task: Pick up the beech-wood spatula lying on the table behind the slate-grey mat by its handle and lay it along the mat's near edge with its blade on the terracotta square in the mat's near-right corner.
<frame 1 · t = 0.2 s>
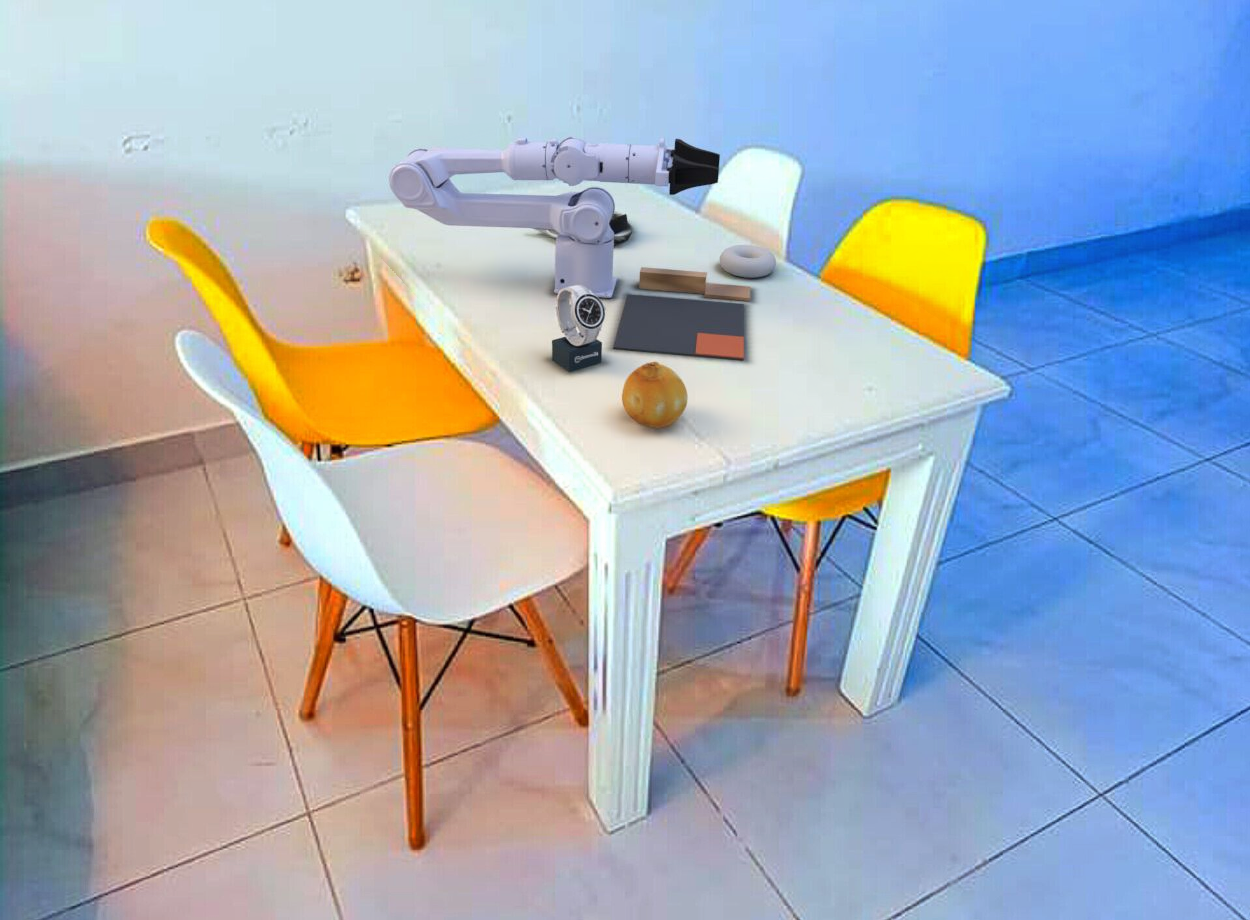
hand: (719, 168, 140), 21 cm above the table, tool horizontal, fingers open, 7 cm apart
donut: (746, 271, 162), on the table
corner mat: (681, 326, 141), on the table
fruit: (653, 420, 117), on the table
spatula: (692, 290, 153), on the table
salad plate: (589, 233, 175), on the table
watch: (577, 362, 130), on the table
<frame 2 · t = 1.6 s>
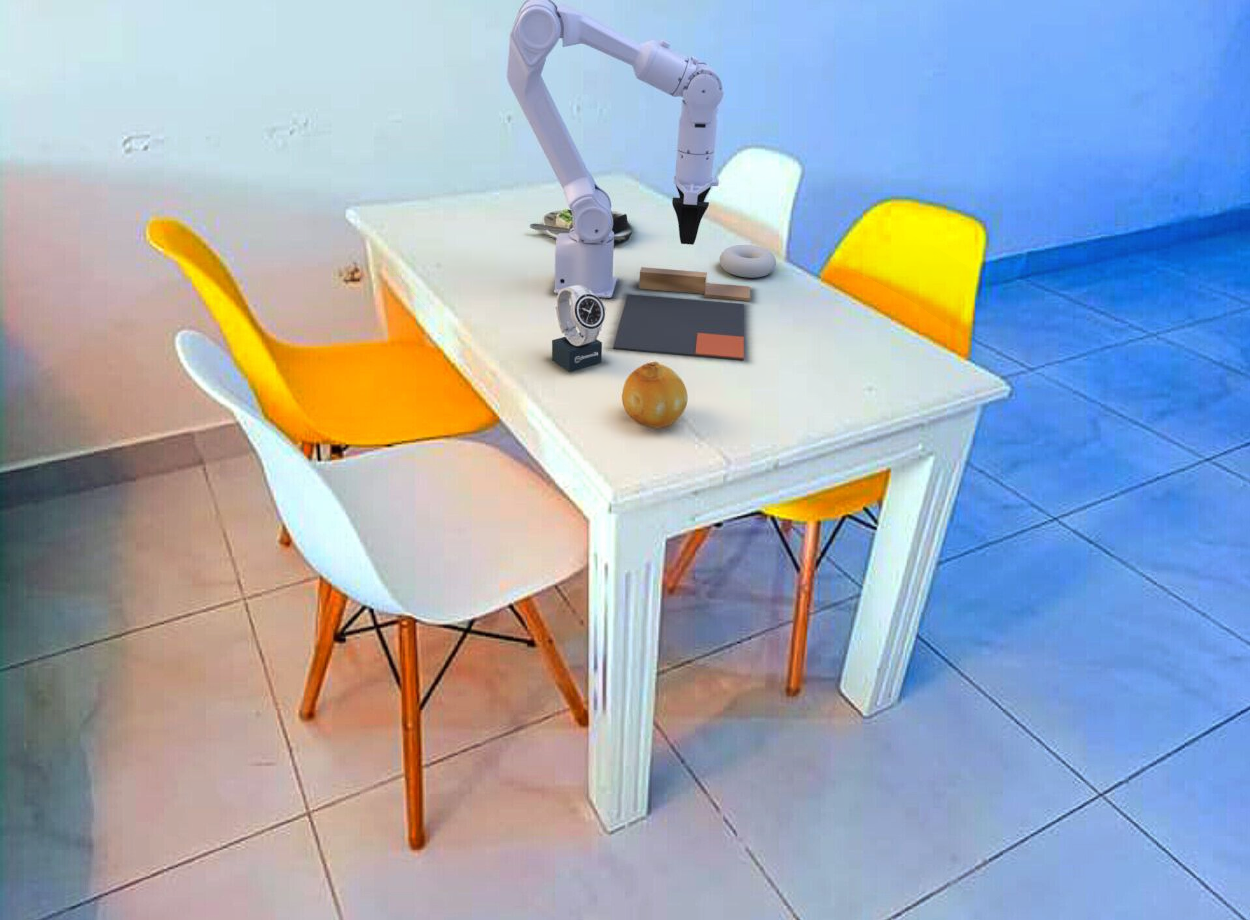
hand: (688, 235, 148), 9 cm above the table, tool pointing down, fingers open, 7 cm apart
nothing on the table moved.
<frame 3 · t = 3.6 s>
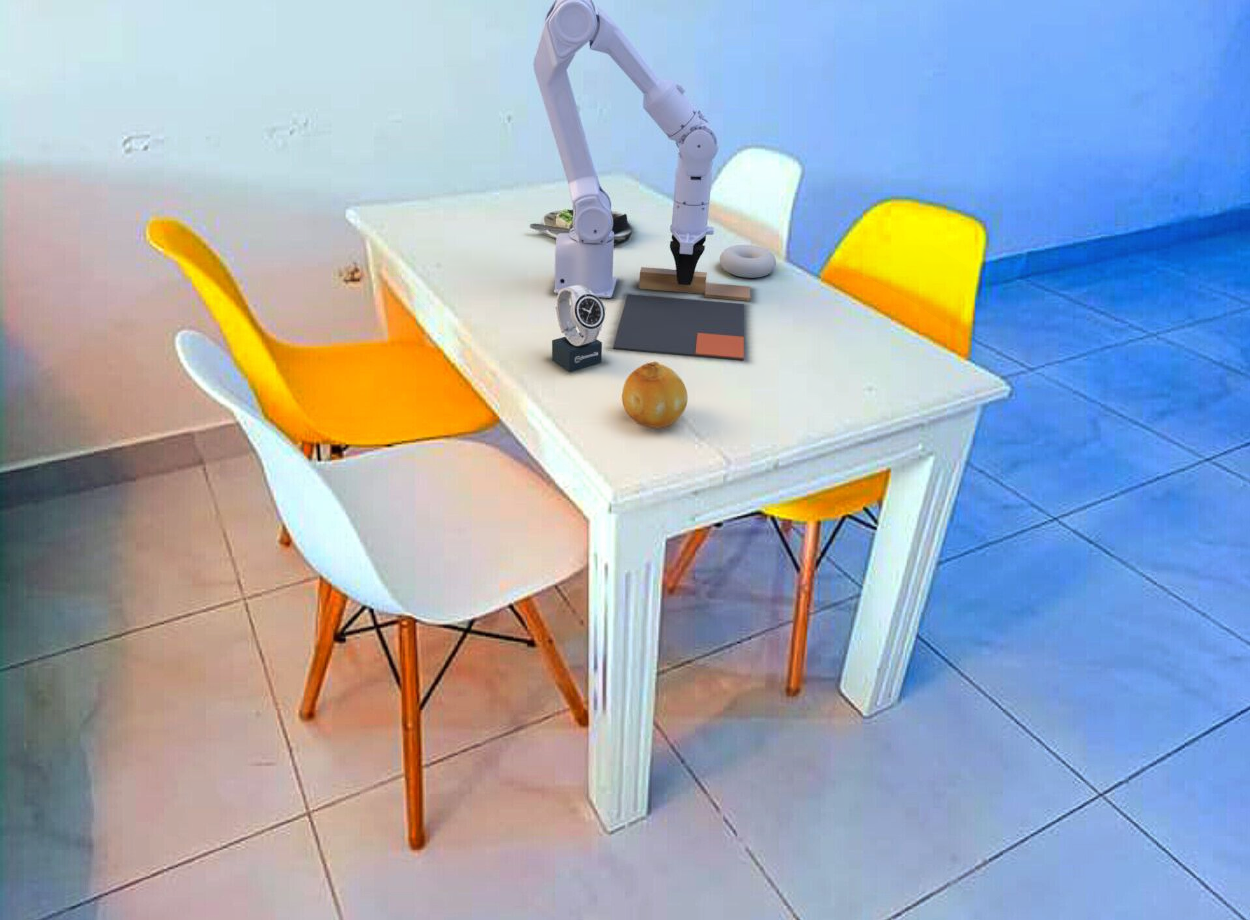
hand: (684, 280, 152), 2 cm above the table, tool pointing down, fingers closed on spatula, 2 cm apart
spatula: (692, 290, 153), on the table, touching gripper
everything else where it was.
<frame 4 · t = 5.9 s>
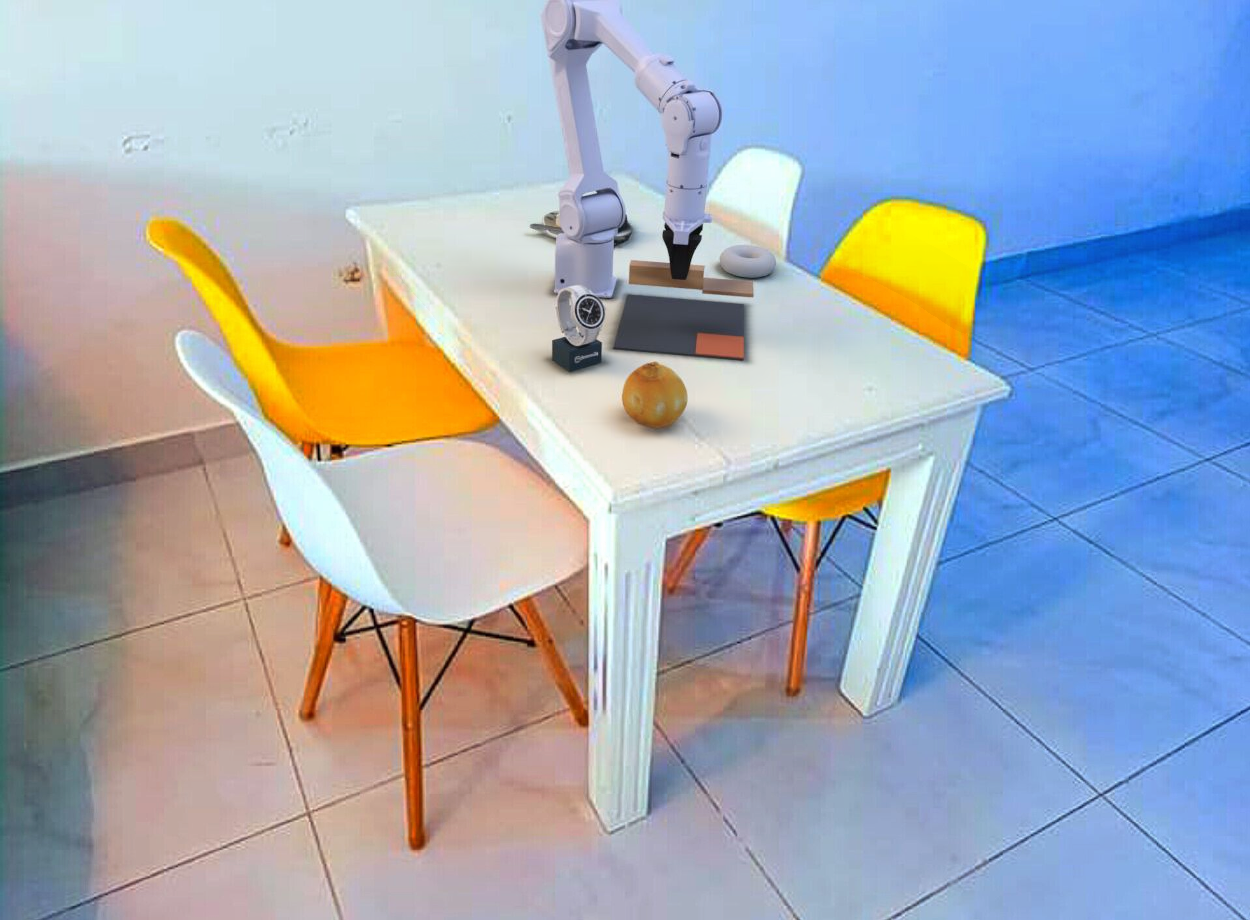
hand: (679, 275, 136), 9 cm above the table, tool pointing down, fingers closed on spatula, 2 cm apart
spatula: (689, 286, 136), point 7 cm above the table, touching gripper
everything else where it was.
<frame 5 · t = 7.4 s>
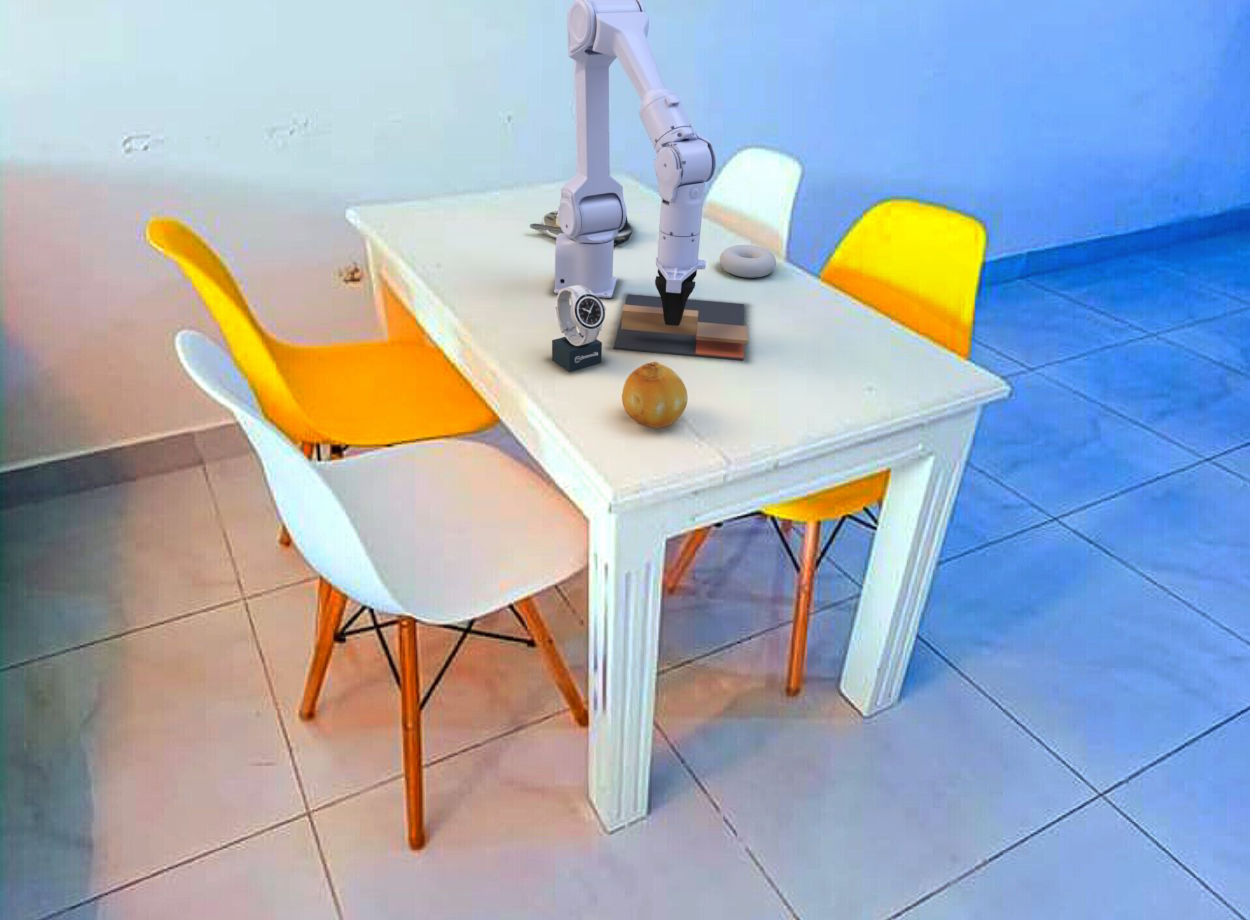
hand: (672, 320, 134), 4 cm above the table, tool pointing down, fingers closed on spatula, 2 cm apart
spatula: (682, 331, 135), point 2 cm above the table, touching gripper
everything else where it was.
when the fingers open (2 cm above the table, at t = 8.2 s): spatula stays where it is, resting on corner mat.
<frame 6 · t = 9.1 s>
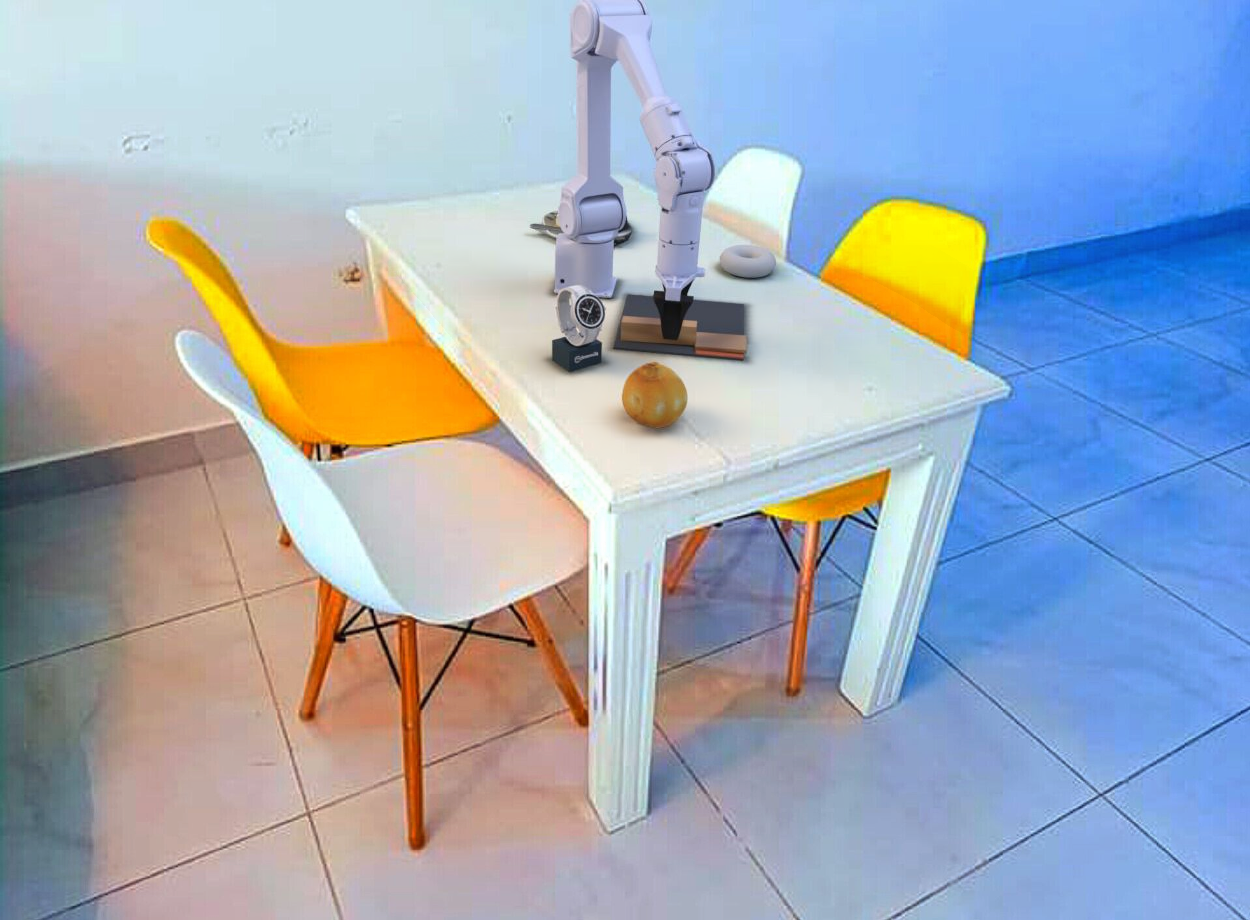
hand: (672, 327, 134), 3 cm above the table, tool pointing down, fingers open, 7 cm apart
spatula: (681, 341, 136), resting on corner mat
everything else where it was.
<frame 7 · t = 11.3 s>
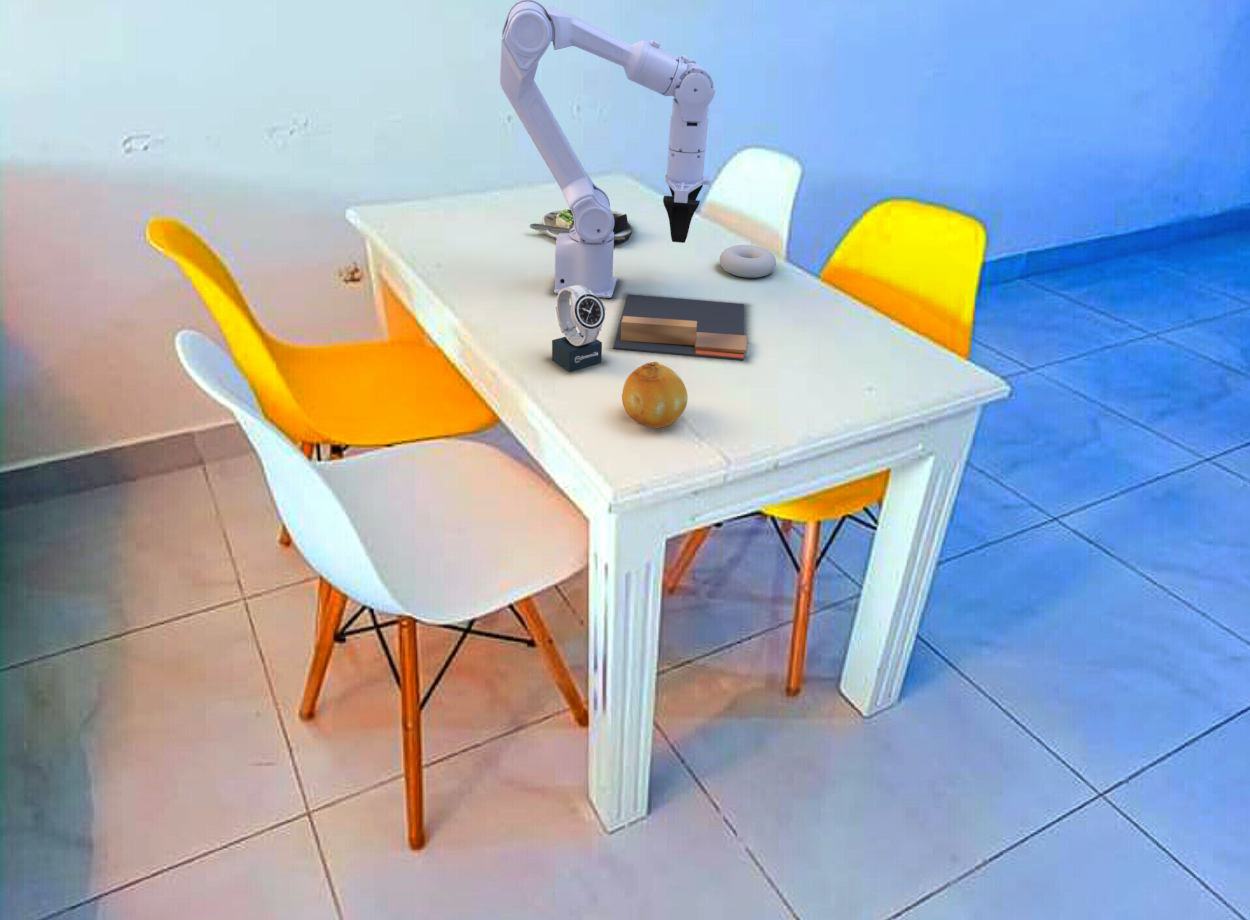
hand: (680, 233, 149), 9 cm above the table, tool pointing down, fingers open, 7 cm apart
nothing on the table moved.
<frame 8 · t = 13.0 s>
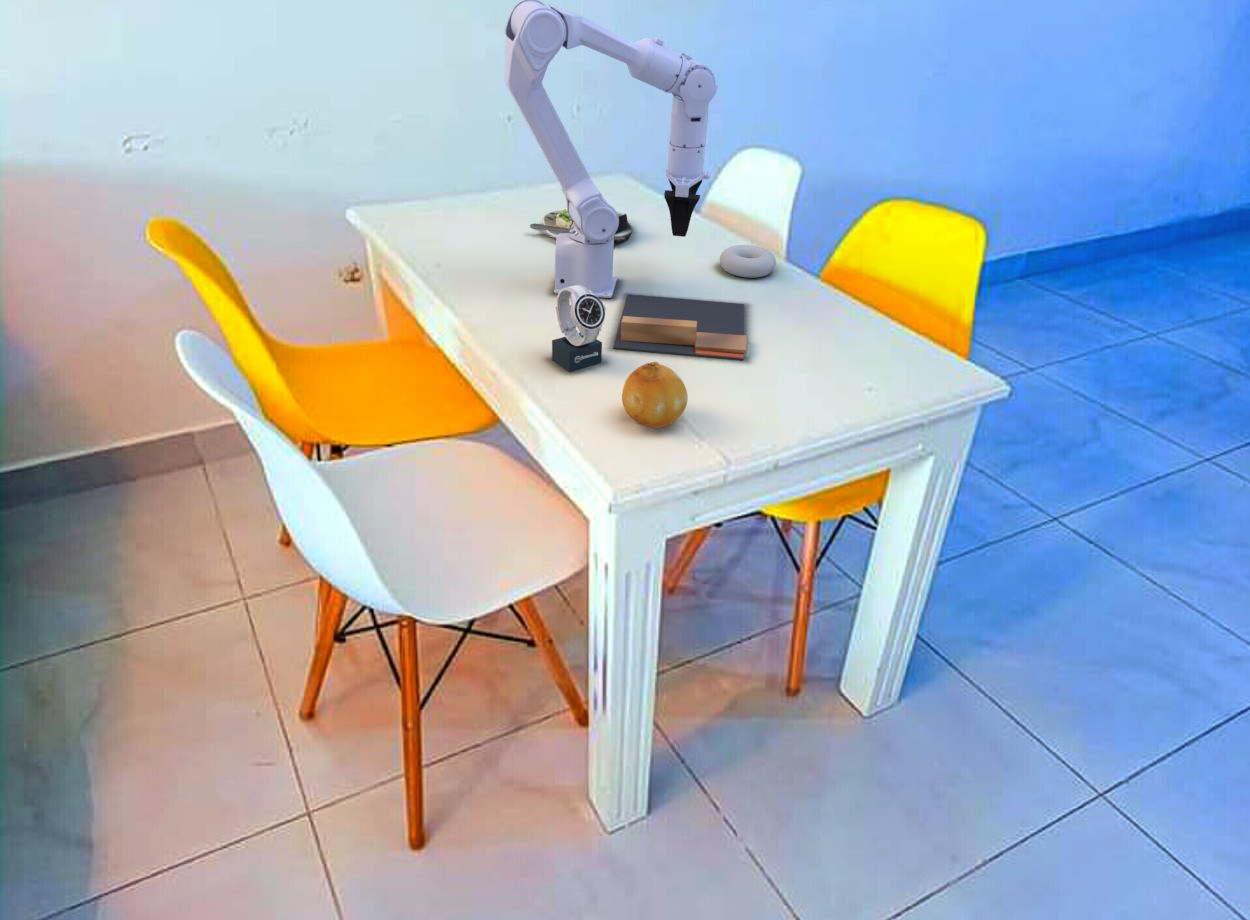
hand: (680, 227, 151), 9 cm above the table, tool pointing down, fingers open, 7 cm apart
nothing on the table moved.
at the end: spatula 0.1 cm from the target spot, point 0.5 cm above the table; spatula tilted 1°; the gripper is holding nothing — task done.
